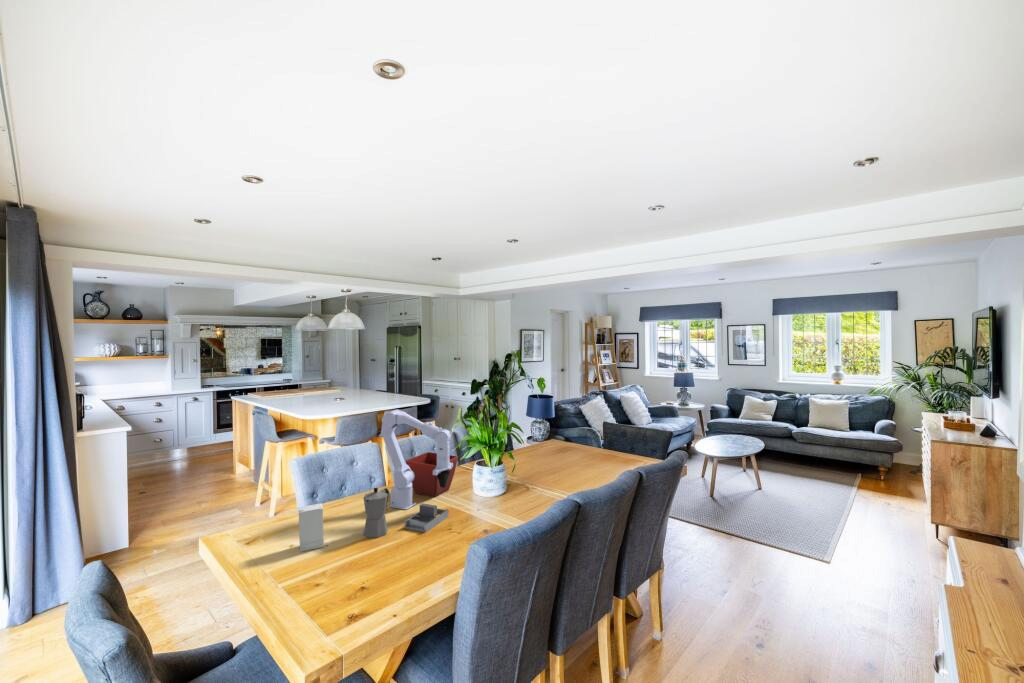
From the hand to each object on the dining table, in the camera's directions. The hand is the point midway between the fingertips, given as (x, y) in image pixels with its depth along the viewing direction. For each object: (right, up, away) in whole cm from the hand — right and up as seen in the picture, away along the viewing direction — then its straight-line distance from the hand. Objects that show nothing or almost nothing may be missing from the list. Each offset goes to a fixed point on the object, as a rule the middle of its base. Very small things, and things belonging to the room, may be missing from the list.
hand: (442, 486), depth 209 cm
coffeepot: (-22, -10, -25) cm, 35 cm away
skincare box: (-43, -10, -39) cm, 59 cm away
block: (-4, -9, -16) cm, 18 cm away
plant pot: (-9, -10, +23) cm, 27 cm away
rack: (-4, -10, -16) cm, 19 cm away
